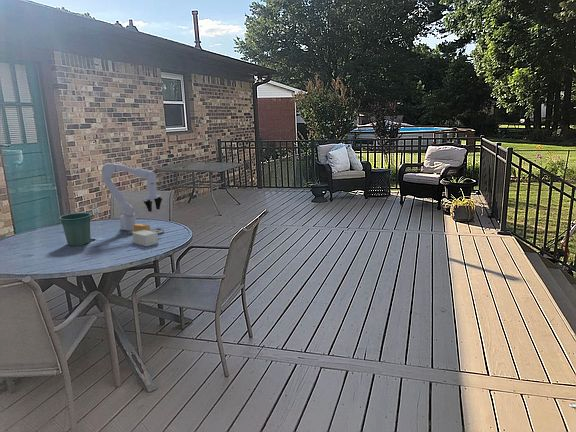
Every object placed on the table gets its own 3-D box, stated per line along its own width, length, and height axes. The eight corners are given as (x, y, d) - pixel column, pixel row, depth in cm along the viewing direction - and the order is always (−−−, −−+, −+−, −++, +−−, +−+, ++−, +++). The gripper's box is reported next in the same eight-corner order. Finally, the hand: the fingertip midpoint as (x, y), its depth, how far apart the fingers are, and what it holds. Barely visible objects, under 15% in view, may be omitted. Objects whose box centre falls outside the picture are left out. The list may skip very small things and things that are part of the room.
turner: (131, 232, 270) (131, 225, 269) (139, 229, 276) (139, 223, 275) (150, 234, 263) (150, 227, 263) (158, 231, 270) (158, 224, 269)
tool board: (127, 234, 269) (127, 232, 269) (139, 230, 278) (138, 228, 278) (152, 237, 261) (152, 235, 261) (164, 233, 270) (163, 231, 270)
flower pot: (82, 247, 243) (78, 219, 239) (56, 246, 246) (52, 218, 243) (100, 239, 259) (97, 212, 255) (75, 238, 262) (72, 212, 258)
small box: (133, 243, 250) (145, 246, 241) (132, 232, 248) (144, 235, 240) (146, 240, 256) (158, 243, 247) (144, 229, 254) (157, 232, 246)
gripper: (149, 191, 276) (151, 213, 279) (164, 188, 289) (166, 208, 291) (140, 191, 279) (142, 212, 282) (156, 187, 291) (157, 207, 294)
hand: (154, 210), depth 287 cm, fingers open, 7 cm apart
